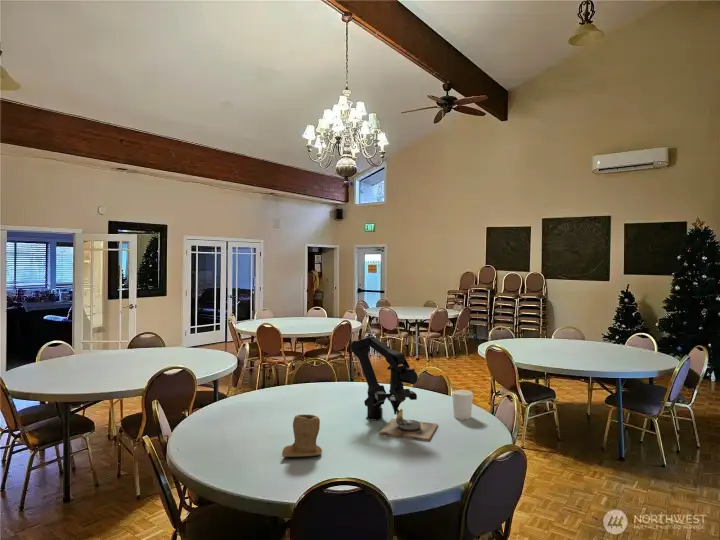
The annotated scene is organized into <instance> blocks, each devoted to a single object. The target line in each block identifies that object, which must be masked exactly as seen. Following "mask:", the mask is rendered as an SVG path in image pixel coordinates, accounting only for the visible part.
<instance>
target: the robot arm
mask: <svg viewBox="0 0 720 540" xmlns="http://www.w3.org/2000/svg"><path fill="white" fill-rule="evenodd" d="M350 344H351V345H350V348H351V351H352V353H353V354H354V357H356V358H358V361H359V363H360V367H361V369H362V373H363V374H364V375H363V376H364V377H365V380H366V383H367V397H366V399H365V400H364V402H363V403H364V406H365V407H367V408H366V409H367V412H366V413H367V416H366V419H367V420H374V421H380V420H381V419H382V418H383V417H384V416H383V414H384V413H383V410H384V409H383V407H382V405H385V401H386V400H387V401H389V402H390V404H391V408H392V410H393V414H394V415H396V416H397V410H398V409H399V407H400V405H401V404H402V403H403V402H405V401H406V399H407V398H408V399H409V400H411V401H412V400H413V401H414V400H415V401H416V400H418V399H417V398H418V394H417V393H416V392H415V391H414V390H410V388H404V383H405V384H409V385H415V384H416V383H418V378H419V377H418V373H417V372H416V371H415V368H410V367H411V366H410V365H409V363H408V360H407V358H406V357H405V354H404V353H403V352H400V351H399V350H394V349H391V348H390V346H389V347H388V345H386V344H384V343H383V342H382V341H381V340H378V339H377V338H376V336H366V337H365V338H362V339H356V340H353V341H352V342H351V343H350ZM370 348H371V349H373V350H374V351H375V352H377V353H378V354H379V355H381V356H382V357H384V359H385V361H386V363H388V365H389V366H388V367H386V370H389V371H390V377H389V378H390V379H389V380H390V381H389V390H388V391H389V392H388V393H387V391H386V390H385V386H384V385H382V384H379V382H378V379H377V376H376V374H375V371H374V368H373V366H372V363H371V360H370V356H369V353H370Z"/></svg>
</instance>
